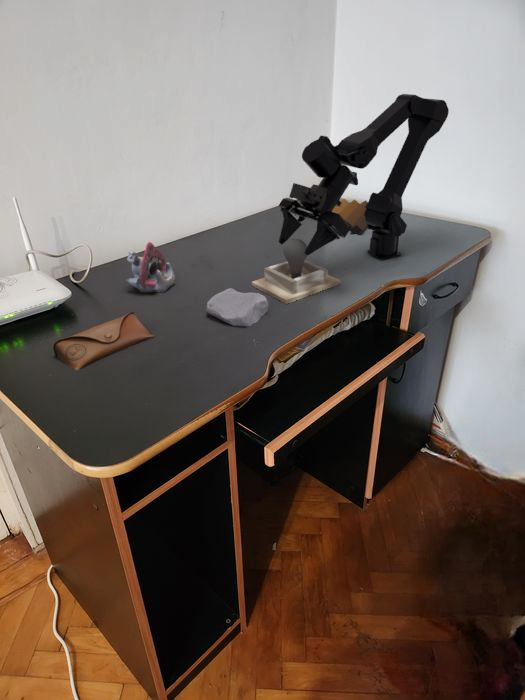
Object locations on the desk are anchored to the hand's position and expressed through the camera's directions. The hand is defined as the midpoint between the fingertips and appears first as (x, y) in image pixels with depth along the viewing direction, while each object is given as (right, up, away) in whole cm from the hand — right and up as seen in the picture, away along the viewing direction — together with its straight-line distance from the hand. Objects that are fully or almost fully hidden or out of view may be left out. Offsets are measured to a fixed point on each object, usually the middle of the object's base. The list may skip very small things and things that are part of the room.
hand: (292, 248), depth 120 cm
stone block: (-13, -16, -6) cm, 21 cm away
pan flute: (+15, +18, +47) cm, 53 cm away
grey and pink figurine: (-33, -8, +8) cm, 35 cm away
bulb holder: (+1, -8, +5) cm, 9 cm away
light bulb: (+1, -7, +5) cm, 8 cm away
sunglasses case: (-37, -22, -15) cm, 46 cm away
